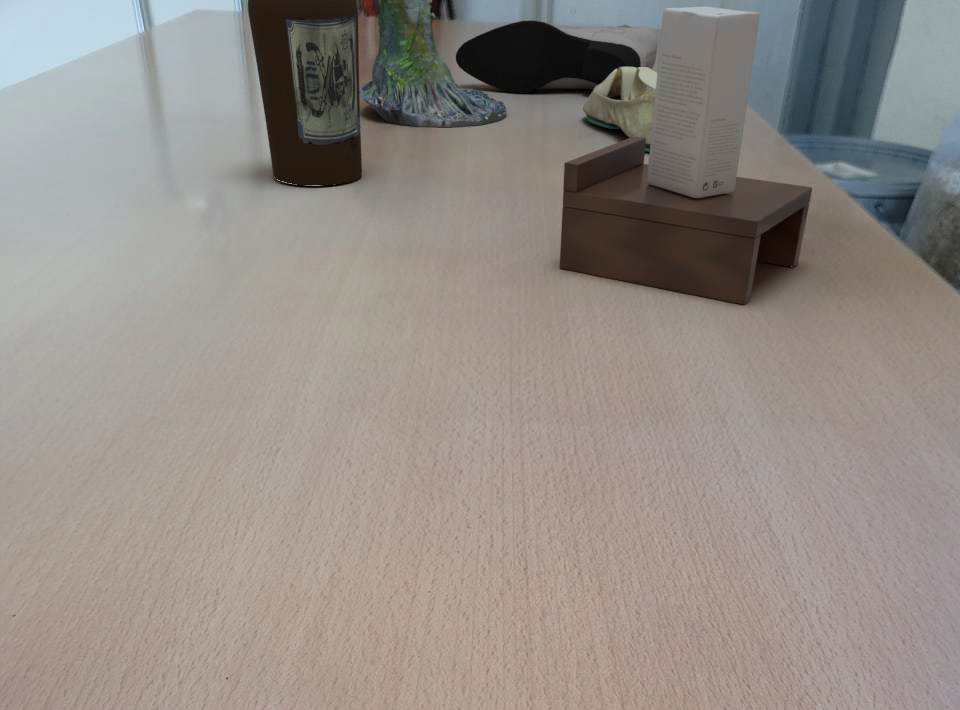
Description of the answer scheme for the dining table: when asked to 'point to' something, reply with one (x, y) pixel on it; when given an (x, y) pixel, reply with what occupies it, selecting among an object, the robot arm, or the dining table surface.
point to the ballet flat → (625, 102)
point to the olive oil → (309, 87)
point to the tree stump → (420, 74)
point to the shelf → (675, 227)
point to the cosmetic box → (701, 99)
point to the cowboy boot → (554, 55)
